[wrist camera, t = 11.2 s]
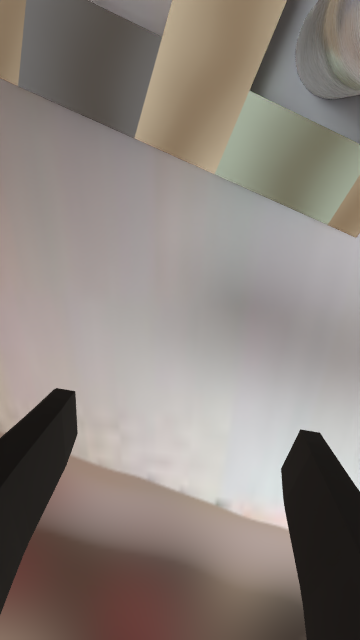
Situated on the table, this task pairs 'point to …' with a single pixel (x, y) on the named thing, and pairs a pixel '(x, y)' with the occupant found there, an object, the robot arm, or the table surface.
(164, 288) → the table surface
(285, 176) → the tool stand
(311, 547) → the robot arm
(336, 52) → the metal cylinder
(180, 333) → the table surface
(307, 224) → the table surface
